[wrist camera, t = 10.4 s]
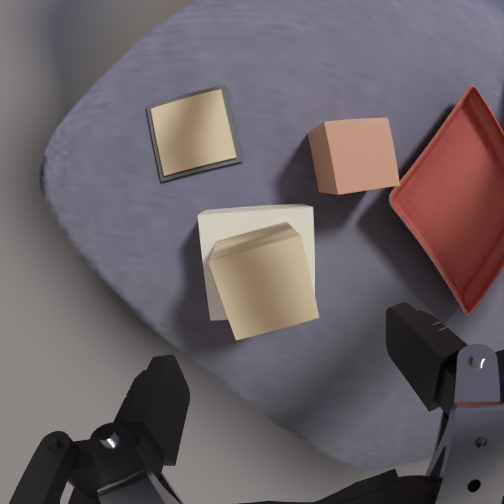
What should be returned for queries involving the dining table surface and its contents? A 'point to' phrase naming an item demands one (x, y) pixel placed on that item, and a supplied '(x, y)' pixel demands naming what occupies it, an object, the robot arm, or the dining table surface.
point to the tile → (193, 133)
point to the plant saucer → (459, 199)
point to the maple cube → (264, 280)
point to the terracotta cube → (353, 155)
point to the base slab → (245, 220)
